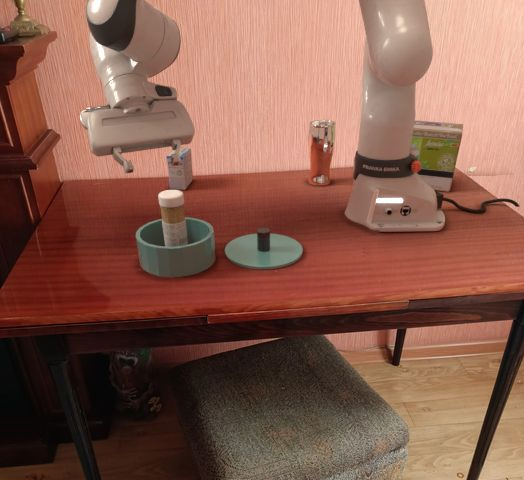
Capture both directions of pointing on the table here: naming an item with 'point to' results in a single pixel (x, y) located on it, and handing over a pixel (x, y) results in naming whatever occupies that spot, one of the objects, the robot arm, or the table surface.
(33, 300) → the table surface
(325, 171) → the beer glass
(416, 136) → the tea box
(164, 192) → the sprinkles bottle
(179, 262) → the pan
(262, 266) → the pan lid
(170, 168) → the medicine box
